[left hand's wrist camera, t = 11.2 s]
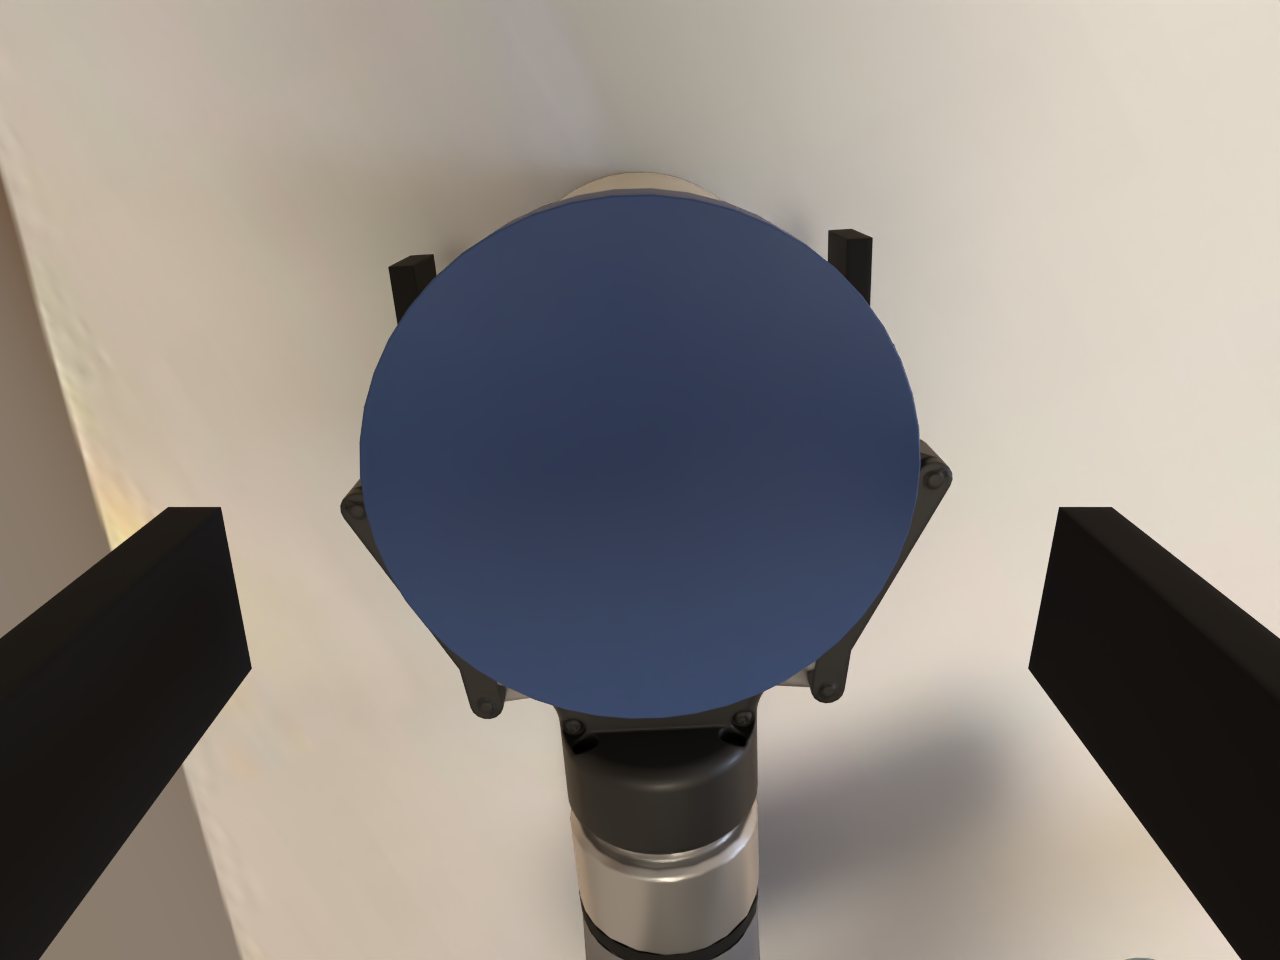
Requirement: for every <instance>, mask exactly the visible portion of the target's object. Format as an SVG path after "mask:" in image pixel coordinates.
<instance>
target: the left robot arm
mask: <svg viewBox="0 0 1280 960" xmlns="http://www.w3.org/2000/svg"><path fill="white" fill-rule="evenodd" d="M251 669H252V667H251V662H250V657H249V651H248V646H247V641H246V636H245V631H244V625H243V620H242V615H241V610H240V605H239V599H238V594H237V589H236V584H235V578H234V573H233V568H232V563H231V558H230V552H229V547H228V542H227V537H226V531H225V526H224V521H223V516H222V511H221V507H168V508H166V509H165V510H164V511H163V512H161V513H160V514H159V515H158V516H156V517H155V518H154V519H152V520H151V521H150V522H149V523H147V524H146V525H145V526H144V527H142V528H141V529H140V530H138V531H137V532H136V533H135V534H133V535H132V536H131V537H129V538H128V539H127V540H126V541H124V542H123V543H122V544H121V545H119V546H118V547H117V548H115V549H114V550H113V551H112V552H110V553H109V554H108V555H106V556H105V557H104V558H103V559H101V560H100V561H99V562H98V563H96V564H95V565H94V566H92V567H91V568H90V569H89V570H87V571H86V572H85V573H84V574H82V575H81V576H80V577H78V578H77V579H76V580H75V581H73V582H72V583H71V584H69V585H68V586H67V587H66V588H64V589H63V590H62V591H61V592H59V593H58V594H57V595H55V596H54V597H53V598H52V599H50V600H49V601H48V602H46V603H45V604H44V605H43V606H41V607H40V608H39V609H38V610H36V611H35V612H34V613H32V614H31V615H30V616H29V617H27V618H26V619H25V620H23V621H22V622H21V623H20V624H18V625H17V626H16V627H15V628H13V629H12V630H11V631H9V632H8V633H7V634H6V635H4V636H3V637H2V638H1V639H0V960H39V959H40V957H41V956H42V954H43V953H44V952H45V950H46V949H47V948H48V946H49V945H50V944H51V942H52V941H53V939H54V938H55V937H56V935H57V934H58V933H59V931H60V930H61V929H62V927H63V926H64V924H65V923H66V922H67V920H68V919H69V918H70V916H71V915H72V914H73V912H74V911H75V909H76V908H77V907H78V905H79V904H80V902H81V901H82V900H83V898H84V897H85V896H86V894H87V893H88V892H89V890H90V889H91V888H92V886H93V885H94V883H95V882H96V881H97V879H98V878H99V877H100V875H101V874H102V872H103V871H104V870H105V868H106V867H107V866H108V864H109V863H110V862H111V860H112V859H113V857H114V856H115V855H116V853H117V852H118V851H119V849H120V848H121V846H122V845H123V844H124V842H125V841H126V840H127V838H128V837H129V836H130V834H131V833H132V831H133V830H134V829H135V827H136V826H137V825H138V823H139V822H140V820H141V819H142V818H143V816H144V815H145V814H146V812H147V811H148V810H149V808H150V807H151V805H152V804H153V803H154V801H155V800H156V799H157V797H158V796H159V795H160V793H161V792H162V790H163V789H164V788H165V786H166V785H167V784H168V782H169V781H170V780H171V778H172V777H173V775H174V774H175V773H176V771H177V770H178V769H179V767H180V766H181V764H182V763H183V762H184V760H185V759H186V758H187V756H188V755H189V754H190V752H191V751H192V749H193V748H194V747H195V745H196V744H197V743H198V741H199V740H200V739H201V737H202V736H203V734H204V733H205V732H206V730H207V729H208V728H209V726H210V725H211V723H212V722H213V721H214V719H215V718H216V717H217V715H218V714H219V713H220V711H221V710H222V708H223V707H224V706H225V704H226V703H227V702H228V700H229V699H230V698H231V696H232V695H233V693H234V692H235V691H236V689H237V688H238V687H239V685H240V684H241V682H242V681H243V680H244V678H245V677H246V676H247V674H248V673H249V672H250V670H251ZM1028 669H1029V670H1030V672H1031V673H1032V674H1033V676H1034V677H1035V678H1036V680H1037V681H1038V682H1039V684H1040V685H1041V687H1042V688H1043V689H1044V691H1045V692H1046V693H1047V695H1048V696H1049V698H1050V699H1051V700H1052V702H1053V703H1054V704H1055V706H1056V707H1057V708H1058V710H1059V711H1060V713H1061V714H1062V715H1063V717H1064V718H1065V719H1066V721H1067V722H1068V723H1069V725H1070V726H1071V728H1072V729H1073V730H1074V732H1075V733H1076V734H1077V736H1078V737H1079V739H1080V740H1081V741H1082V743H1083V744H1084V745H1085V747H1086V748H1087V749H1088V751H1089V752H1090V754H1091V755H1092V756H1093V758H1094V759H1095V760H1096V762H1097V763H1098V765H1099V766H1100V767H1101V769H1102V770H1103V771H1104V773H1105V774H1106V775H1107V777H1108V778H1109V780H1110V781H1111V782H1112V784H1113V785H1114V786H1115V788H1116V789H1117V790H1118V792H1119V793H1120V795H1121V796H1122V797H1123V799H1124V800H1125V801H1126V803H1127V804H1128V806H1129V807H1130V808H1131V810H1132V811H1133V812H1134V814H1135V815H1136V816H1137V818H1138V819H1139V821H1140V822H1141V823H1142V825H1143V826H1144V827H1145V829H1146V830H1147V831H1148V833H1149V834H1150V836H1151V837H1152V838H1153V840H1154V841H1155V842H1156V844H1157V845H1158V847H1159V848H1160V849H1161V851H1162V852H1163V853H1164V855H1165V856H1166V857H1167V859H1168V860H1169V862H1170V863H1171V864H1172V866H1173V867H1174V868H1175V870H1176V871H1177V872H1178V874H1179V875H1180V877H1181V878H1182V879H1183V881H1184V882H1185V883H1186V885H1187V886H1188V888H1189V889H1190V890H1191V892H1192V893H1193V894H1194V896H1195V897H1196V898H1197V900H1198V901H1199V903H1200V904H1201V905H1202V907H1203V908H1204V909H1205V911H1206V912H1207V914H1208V915H1209V916H1210V918H1211V919H1212V920H1213V922H1214V923H1215V924H1216V926H1217V927H1218V929H1219V930H1220V931H1221V933H1222V934H1223V935H1224V937H1225V938H1226V939H1227V941H1228V942H1229V944H1230V945H1231V946H1232V948H1233V949H1234V950H1235V952H1236V953H1237V955H1238V956H1239V957H1240V959H1241V960H1280V638H1278V637H1277V636H1276V635H1274V634H1273V633H1272V632H1271V631H1269V630H1268V629H1267V628H1265V627H1264V626H1263V625H1262V624H1260V623H1259V622H1258V621H1257V620H1255V619H1254V618H1253V617H1251V616H1250V615H1249V614H1248V613H1246V612H1245V611H1244V610H1242V609H1241V608H1240V607H1239V606H1237V605H1236V604H1235V603H1234V602H1232V601H1231V600H1230V599H1228V598H1227V597H1226V596H1225V595H1223V594H1222V593H1221V592H1220V591H1218V590H1217V589H1216V588H1214V587H1213V586H1212V585H1211V584H1209V583H1208V582H1207V581H1205V580H1204V579H1203V578H1202V577H1200V576H1199V575H1198V574H1197V573H1195V572H1194V571H1193V570H1191V569H1190V568H1189V567H1188V566H1186V565H1185V564H1184V563H1182V562H1181V561H1180V560H1179V559H1177V558H1176V557H1175V556H1174V555H1172V554H1171V553H1170V552H1168V551H1167V550H1166V549H1165V548H1163V547H1162V546H1161V545H1159V544H1158V543H1157V542H1156V541H1154V540H1153V539H1152V538H1151V537H1149V536H1148V535H1147V534H1145V533H1144V532H1143V531H1142V530H1140V529H1139V528H1138V527H1136V526H1135V525H1134V524H1133V523H1131V522H1130V521H1129V520H1128V519H1126V518H1125V517H1124V516H1122V515H1121V514H1120V513H1119V512H1117V511H1116V510H1115V509H1114V508H1112V507H1059V511H1058V516H1057V521H1056V526H1055V531H1054V537H1053V542H1052V547H1051V552H1050V558H1049V563H1048V568H1047V573H1046V578H1045V584H1044V589H1043V594H1042V599H1041V605H1040V610H1039V615H1038V620H1037V625H1036V631H1035V636H1034V641H1033V646H1032V651H1031V657H1030V662H1029V667H1028Z"/></svg>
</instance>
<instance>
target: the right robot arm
mask: <svg viewBox="0 0 1280 960" xmlns="http://www.w3.org/2000/svg"><path fill="white" fill-rule="evenodd" d="M872 239H873V238H872V237H869V236H867V235H865V234H862V233H860V232H858V231H855V230H853V229H843V230H828V263H830V264H831V265H832V266H834V267H835V268H836V269H837V270H838V271H839V272H840V273H841V274H842V275H843V276H844V277H845V278H846V279H847V281H848V282H849V283H850V284H851V285H852V286H853V287H854V288H855V289H856V290H857V291H858V292H859V293H860V294H861V295H862V296H863V298H864V299H865V301H866V302H867V303H868V305H869V306H870V292H871V266H872ZM388 268H389V274H390V280H391V286H392V292H393V299H394V305H395V311H396V317H397V323H398V324H399V322H400V320H401V319H402V317H403V316H404V314H405V313H406V311H407V309H408V308H409V307H410V305H411V304H412V303H413V302H414V301H415V300H416V298H417V297H418V296H419V295H420V294H421V292H422V291H423V290H424V289H425V288H426V287H427V285H428V284H429V283H430V282H431V281H432V280H433V279H434V278H435V277H436V269H435V262H434V254H429V255H412V256H409V257H407V258H405V259H403V260H401V261H399V262H397V263H395V264H393V265H391V266H389V267H388ZM893 345H894V344H893ZM894 347H895V346H894ZM920 462H921V464H920V474H919V484H918V494H917V500H916V504H915V508H914V512H913V517H912V521H911V525H910V529H909V532H908V535H907V537H906V540H905V542H904V545H903V547H902V550H901V553H900V555H899V558H898V560H897V563H896V564H895V566H894V568H893V570H892V572H891V573H890V575H889V577H888V579H887V581H886V583H885V584H884V586H883V588H882V590H881V591H880V593H879V594H878V596H877V597H876V598H875V600H874V601H873V602H872V604H871V605H870V606H869V608H868V609H867V611H866V612H865V613H864V615H863V616H862V617H861V618H860V620H859V621H858V622H857V623H856V624H855V625H854V626H853V627H852V628H851V629H850V630H849V631H848V632H847V633H846V634H845V635H844V637H843V638H842V639H841V640H840V641H839V642H838V643H836V644H835V645H834V646H833V647H832V648H830V649H829V650H828V651H827V652H826V653H824V654H823V655H822V656H821V657H820V658H818V659H817V660H816V661H815V662H814V663H812V664H810V665H809V666H807V667H806V668H804V669H803V670H801V671H800V672H798V673H797V674H795V675H794V676H792V677H791V678H789V679H787V680H786V681H784V682H782V683H780V684H778V685H777V686H799V687H810V689H811V693H812V695H813V697H814V698H815V699H816V700H818V701H819V702H823V703H831V702H834V701H836V700H838V699H839V698H840V697H841V696H842V695H843V692H844V690H845V684H846V678H847V672H848V666H849V660H850V654H851V650H852V648H853V646H854V645H855V643H856V641H857V640H858V638H859V636H860V635H861V633H862V631H863V630H864V628H865V626H866V625H867V623H868V622H869V620H870V618H871V617H872V615H873V613H874V612H875V610H876V608H877V607H878V605H879V603H880V602H881V600H882V598H883V597H884V595H885V593H886V592H887V590H888V588H889V587H890V585H891V583H892V582H893V580H894V578H895V577H896V575H897V573H898V572H899V570H900V568H901V567H902V565H903V563H904V562H905V560H906V558H907V557H908V555H909V553H910V552H911V550H912V548H913V547H914V545H915V543H916V542H917V540H918V538H919V537H920V535H921V533H922V532H923V530H924V528H925V527H926V525H927V523H928V522H929V520H930V518H931V517H932V515H933V513H934V512H935V510H936V508H937V507H938V505H939V503H940V502H941V500H942V498H943V497H944V495H945V493H946V492H947V490H948V488H949V487H950V485H951V482H952V472H951V470H950V468H949V467H948V466H947V465H946V464H945V463H944V461H943V460H942V459H941V458H940V457H939V456H938V455H937V454H936V453H935V452H934V451H933V450H932V449H931V448H930V447H929V445H928V444H927V443H925V442H924V441H923V440H921V439H920ZM340 507H341V513H342V515H343V517H344V519H345V520H346V522H347V523H348V524H349V526H350V527H351V528H352V529H353V531H354V532H355V533H356V535H357V536H358V537H359V539H360V540H361V541H362V543H363V544H364V545H365V546H366V548H367V549H368V550H369V552H370V553H371V554H372V556H373V557H374V558H375V560H376V561H377V562H378V563H379V565H380V566H381V567H382V569H383V570H384V571H385V573H386V574H387V575H388V577H389V578H390V579H391V580H392V582H393V583H394V581H393V579H392V578H391V576H390V574H389V573H388V571H387V568H386V566H385V564H384V562H383V559H382V557H381V555H380V553H379V550H378V548H377V546H376V544H375V541H374V538H373V534H372V531H371V528H370V524H369V521H368V517H367V514H366V511H365V505H364V498H363V492H362V485H361V479H359V481H358V482H357V483H356V484H355V485H354V487H353V488H352V489H351V490H350V492H349V493H348V494H347V495H346V496H345V498H344V499H343V500H342V503H341V505H340ZM394 584H395V583H394ZM395 586H396V584H395ZM396 587H397V586H396ZM397 588H398V587H397ZM398 590H399V589H398ZM430 632H431V631H430ZM431 633H432V632H431ZM432 634H433V635H434V637H435V638H436V639H437V641H438V642H439V643H440V645H441V646H442V647H443V649H444V650H445V651H446V652H447V654H448V655H449V656H450V658H451V659H452V660H453V662H454V663H455V664H456V666H457V667H458V668H459V669H460V673H461V676H462V680H463V683H464V686H465V690H466V693H467V697H468V700H469V703H470V707H471V709H472V711H473V713H474V714H476V715H477V716H478V717H481V718H484V719H492V718H495V717H497V716H498V715H499V714H500V713H501V712H502V709H503V706H504V702H505V701H511V700H518V699H525V698H530V697H528V696H526V695H523V694H521V693H519V692H517V691H514V690H512V689H510V688H508V687H505V686H503V685H502V684H500V683H498V682H497V681H495V680H493V679H492V678H490V677H488V676H486V675H485V674H483V673H481V672H480V671H478V670H476V669H475V668H474V667H472V666H471V665H470V664H468V663H467V662H466V661H464V660H463V659H462V658H461V657H459V656H458V655H457V654H455V653H454V652H453V651H451V650H450V649H449V648H448V647H447V646H446V645H445V644H444V643H443V642H442V641H441V640H440V639H439V638H438V637H437V636H436V635H435V634H434V633H432ZM762 694H763V692H762V693H760V694H758V695H755V696H752V697H750V698H747V699H744V700H741V701H739V702H736V703H733V704H730V705H728V706H724V707H720V708H716V709H712V710H708V711H704V712H700V713H696V714H688V715H681V716H673V717H665V718H633V719H629V718H618V717H607V716H596V715H591V714H586V713H581V712H576V711H571V710H566V709H563V708H560V707H557V706H554V708H555V709H556V711H557V713H558V716H559V720H560V727H561V736H562V745H563V754H564V763H565V772H566V781H567V790H568V797H569V803H570V806H571V817H570V820H571V827H572V835H573V843H574V851H575V859H576V867H577V874H578V882H579V894H580V900H581V906H582V911H583V922H584V936H585V949H586V960H760V950H759V930H758V910H757V899H758V880H759V850H758V805H757V799H756V794H757V786H758V776H757V705H758V702H759V699H760V697H761V695H762ZM1126 960H1154V959H1150V958H1131V959H1126Z"/></svg>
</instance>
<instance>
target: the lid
mask: <svg viewBox="0 0 1280 960" xmlns="http://www.w3.org/2000/svg"><path fill="white" fill-rule="evenodd" d="M920 464H921V462H920V439H919V425H918V420H917V415H916V409H915V404H914V399H913V393H912V391H911V388H910V385H909V382H908V379H907V376H906V373H905V370H904V367H903V364H902V361H901V359H900V357H899V355H898V353H897V351H896V349H895V347H894V345H893V343H892V341H891V339H890V337H889V335H888V333H887V331H886V329H885V327H884V326H883V325H882V323H881V322H880V320H879V319H878V317H877V316H876V315H875V313H874V312H873V310H872V309H871V308H870V306H869V305H868V303H867V302H866V301H865V299H864V298H863V296H862V295H861V294H860V293H859V292H858V291H857V290H856V289H855V288H854V287H853V286H852V285H851V284H850V283H849V282H848V281H847V279H846V278H845V277H844V276H843V275H842V274H841V273H840V272H839V271H838V270H837V269H836V268H835V267H834V266H832V265H831V264H830V263H828V262H827V261H826V260H825V259H823V258H822V257H821V256H820V255H818V254H817V253H816V252H815V251H813V250H812V249H811V248H809V247H808V246H807V245H806V244H804V243H803V242H801V241H800V240H798V239H796V238H795V237H793V236H792V235H790V234H789V233H787V232H785V231H784V230H782V229H780V228H778V227H777V226H775V225H773V224H772V223H770V222H768V221H766V220H765V219H763V218H761V217H760V216H758V215H756V214H753V213H751V212H748V211H746V210H743V209H741V208H739V207H736V206H734V205H731V204H729V203H726V202H724V201H720V200H716V199H712V198H708V197H705V196H701V195H697V194H693V193H689V192H681V191H672V190H663V189H654V188H639V189H612V190H606V191H600V192H594V193H588V194H582V195H577V196H574V197H571V198H567V199H564V200H561V201H558V202H555V203H551V204H548V205H545V206H542V207H540V208H538V209H536V210H534V211H532V212H530V213H528V214H525V215H523V216H521V217H519V218H517V219H515V220H513V221H511V222H509V223H507V224H506V225H504V226H503V227H501V228H500V229H498V230H497V231H495V232H494V233H492V234H491V235H489V236H488V237H486V238H484V239H483V240H481V241H480V242H478V243H477V244H475V245H474V246H472V247H471V248H469V249H468V250H466V251H465V252H463V253H462V254H461V255H460V256H458V257H457V258H456V259H455V260H454V261H453V262H452V263H450V264H449V265H448V266H447V267H446V268H445V269H444V270H443V271H441V272H440V273H439V274H438V275H437V276H436V277H435V278H434V279H433V280H432V281H431V282H430V283H429V284H428V285H427V287H426V288H425V289H424V290H423V291H422V292H421V294H420V295H419V296H418V297H417V298H416V300H415V301H414V302H413V303H412V304H411V305H410V307H409V308H408V309H407V311H406V313H405V314H404V316H403V317H402V319H401V320H400V322H399V324H398V325H397V327H396V328H395V330H394V332H393V333H392V335H391V336H390V338H389V340H388V342H387V344H386V346H385V349H384V351H383V353H382V355H381V358H380V360H379V362H378V364H377V367H376V369H375V371H374V374H373V378H372V381H371V385H370V388H369V392H368V395H367V399H366V403H365V406H364V413H363V420H362V428H361V436H360V479H361V485H362V492H363V498H364V505H365V511H366V514H367V517H368V521H369V524H370V528H371V531H372V534H373V538H374V541H375V544H376V546H377V548H378V550H379V553H380V555H381V557H382V559H383V562H384V564H385V566H386V568H387V571H388V573H389V574H390V576H391V578H392V579H393V581H394V583H395V584H396V586H397V587H398V589H399V591H400V592H401V594H402V596H403V597H404V599H405V600H406V602H407V603H408V604H409V606H410V607H411V608H412V609H413V611H414V612H415V613H416V614H417V616H418V617H419V618H420V619H421V620H422V622H423V623H424V624H425V625H426V627H427V628H428V629H429V630H430V631H431V632H432V633H434V634H435V635H436V636H437V637H438V638H439V639H440V640H441V641H442V642H443V643H444V644H445V645H446V646H447V647H448V648H449V649H450V650H451V651H453V652H454V653H455V654H457V655H458V656H459V657H461V658H462V659H463V660H464V661H466V662H467V663H468V664H470V665H471V666H472V667H474V668H475V669H476V670H478V671H480V672H481V673H483V674H485V675H486V676H488V677H490V678H492V679H493V680H495V681H497V682H498V683H500V684H502V685H503V686H505V687H508V688H510V689H512V690H514V691H517V692H519V693H521V694H523V695H526V696H528V697H530V698H532V699H535V700H538V701H541V702H544V703H547V704H550V705H553V706H557V707H560V708H563V709H566V710H571V711H576V712H581V713H586V714H591V715H596V716H607V717H618V718H629V719H633V718H665V717H673V716H681V715H688V714H696V713H700V712H704V711H708V710H712V709H716V708H720V707H724V706H728V705H730V704H733V703H736V702H739V701H741V700H744V699H747V698H750V697H752V696H755V695H758V694H760V693H762V692H764V691H766V690H768V689H770V688H772V687H774V686H776V685H778V684H780V683H782V682H784V681H786V680H787V679H789V678H791V677H792V676H794V675H795V674H797V673H798V672H800V671H801V670H803V669H804V668H806V667H807V666H809V665H810V664H812V663H814V662H815V661H816V660H817V659H818V658H820V657H821V656H822V655H823V654H824V653H826V652H827V651H828V650H829V649H830V648H832V647H833V646H834V645H835V644H836V643H838V642H839V641H840V640H841V639H842V638H843V637H844V635H845V634H846V633H847V632H848V631H849V630H850V629H851V628H852V627H853V626H854V625H855V624H856V623H857V622H858V621H859V620H860V618H861V617H862V616H863V615H864V613H865V612H866V611H867V609H868V608H869V606H870V605H871V604H872V602H873V601H874V600H875V598H876V597H877V596H878V594H879V593H880V591H881V590H882V588H883V586H884V584H885V583H886V581H887V579H888V577H889V575H890V573H891V572H892V570H893V568H894V566H895V564H896V563H897V560H898V558H899V555H900V553H901V550H902V547H903V545H904V542H905V540H906V537H907V535H908V532H909V529H910V525H911V521H912V517H913V512H914V508H915V504H916V500H917V494H918V484H919V474H920Z"/></svg>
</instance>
